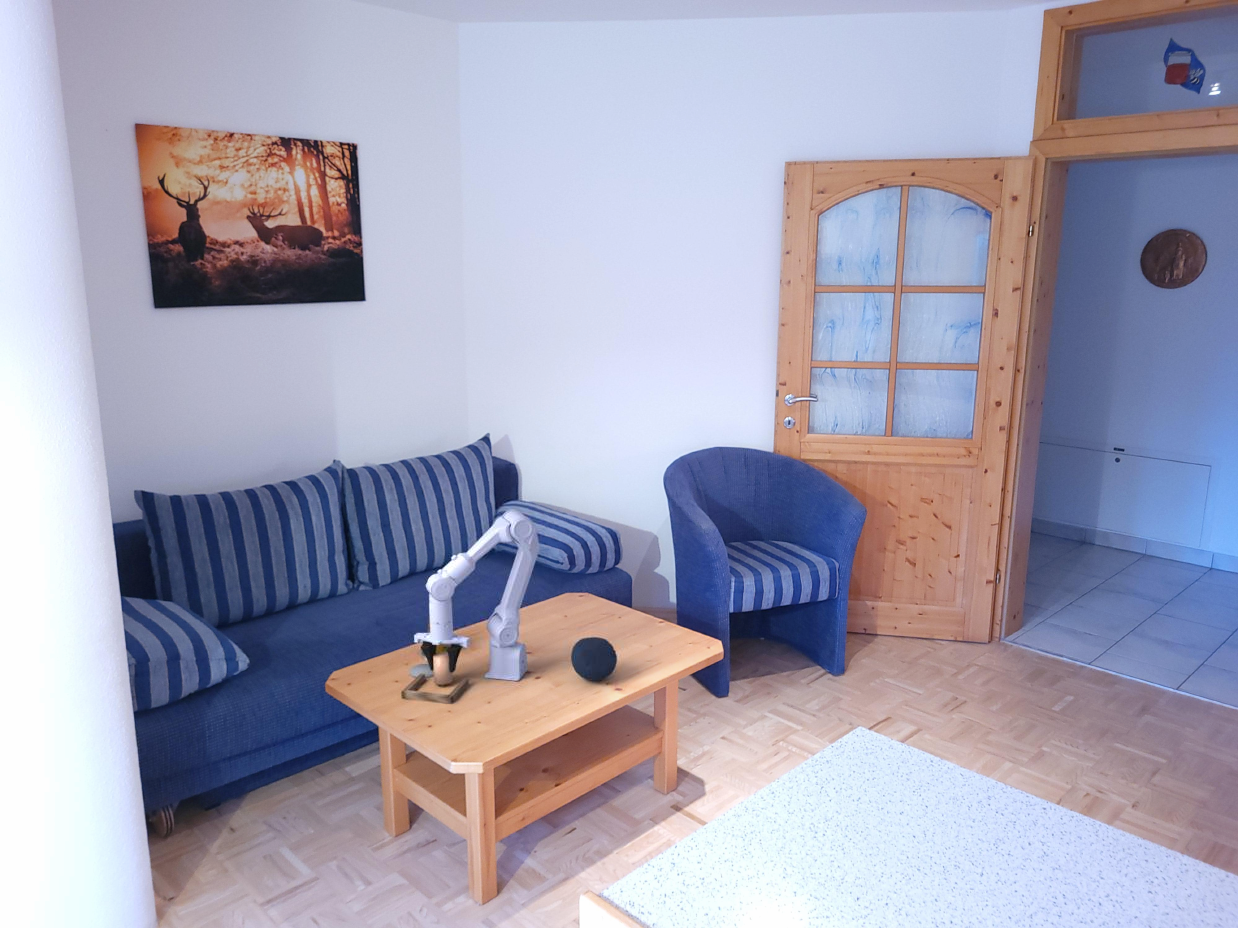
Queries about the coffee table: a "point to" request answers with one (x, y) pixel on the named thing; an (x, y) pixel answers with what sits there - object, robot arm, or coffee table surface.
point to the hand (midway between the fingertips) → (443, 669)
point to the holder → (432, 697)
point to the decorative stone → (593, 658)
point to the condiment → (438, 649)
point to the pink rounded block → (442, 668)
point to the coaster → (421, 670)
